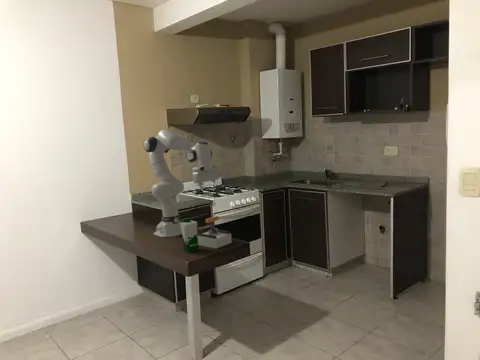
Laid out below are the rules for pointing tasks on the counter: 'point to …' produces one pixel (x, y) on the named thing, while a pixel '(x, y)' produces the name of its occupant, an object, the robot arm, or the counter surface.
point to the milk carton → (189, 235)
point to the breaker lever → (212, 223)
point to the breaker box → (215, 243)
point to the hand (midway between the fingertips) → (207, 188)
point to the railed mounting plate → (212, 235)
